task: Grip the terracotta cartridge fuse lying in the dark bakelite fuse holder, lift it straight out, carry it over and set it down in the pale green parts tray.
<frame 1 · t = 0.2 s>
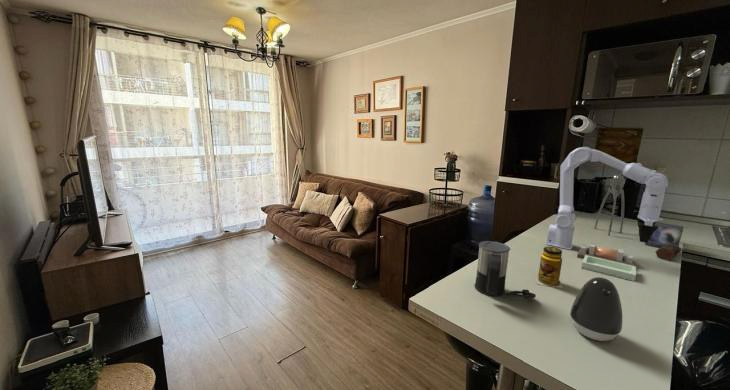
hand: (643, 239, 114), 10 cm above the worktop, tool pointing down, fingers open, 7 cm apart
dark grey egg dome: (592, 334, 75), on the worktop
fuse holder: (604, 259, 120), on the worktop
brown elongated lump: (669, 256, 124), on the worktop
milk frother: (502, 293, 93), on the worktop
parts tray: (607, 270, 110), on the worktop
fuse: (604, 259, 120), resting in fuse holder
juicer: (608, 233, 151), on the worktop
picture frame: (660, 247, 134), on the worktop
condiment: (547, 281, 101), on the worktop
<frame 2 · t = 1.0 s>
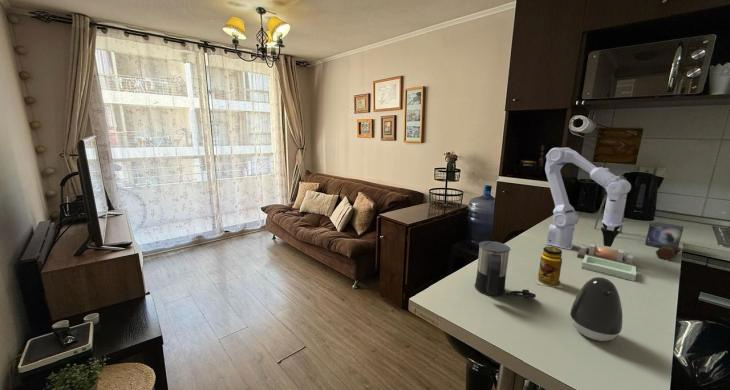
hand: (607, 243, 118), 7 cm above the worktop, tool pointing down, fingers open, 7 cm apart
nothing on the worktop moved.
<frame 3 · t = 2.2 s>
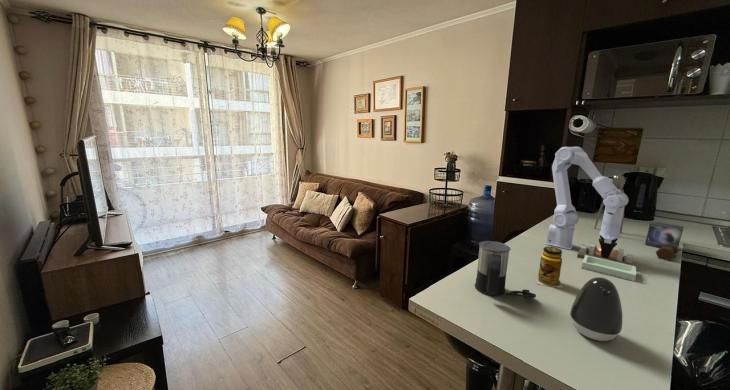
hand: (605, 255, 119), 2 cm above the worktop, tool pointing down, fingers closed on fuse, 4 cm apart
fuse: (604, 259, 120), resting in fuse holder, touching gripper
everything else where it was.
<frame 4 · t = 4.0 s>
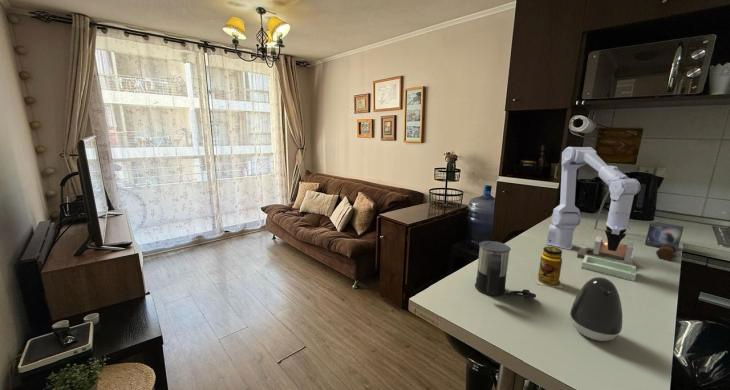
hand: (612, 248, 108), 9 cm above the worktop, tool pointing down, fingers closed on fuse, 4 cm apart
fuse: (611, 254, 109), point 6 cm above the worktop, tilted 7°, touching gripper
everything else where it was.
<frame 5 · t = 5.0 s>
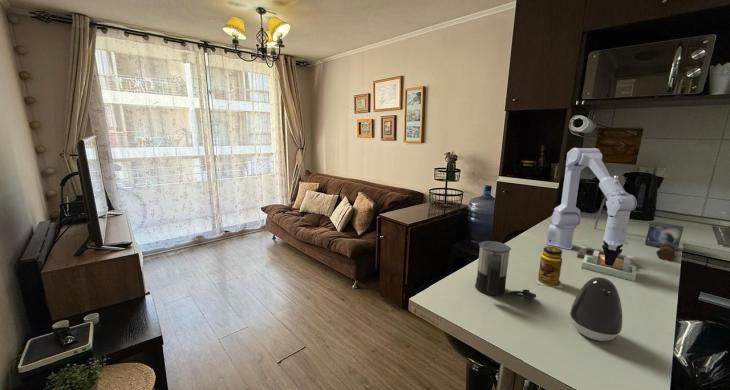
hand: (609, 262, 109), 3 cm above the worktop, tool pointing down, fingers closed on fuse, 4 cm apart
fuse: (608, 268, 110), point 1 cm above the worktop, tilted 6°, touching gripper
when the fingers open (3 cm above the worktop, at t = 5.9 s): fuse stays where it is, resting on parts tray.
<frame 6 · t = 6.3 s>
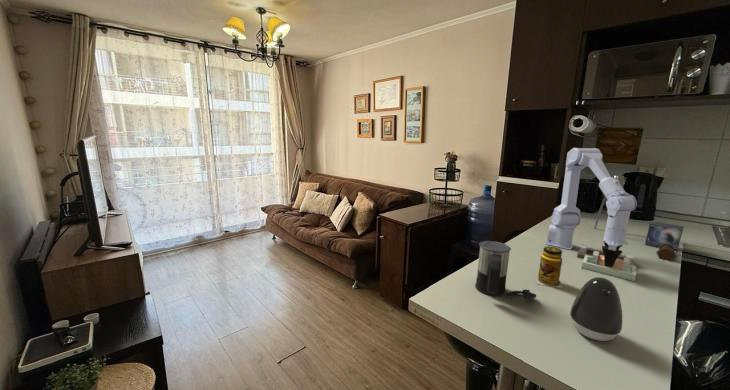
hand: (609, 263, 109), 3 cm above the worktop, tool pointing down, fingers open, 7 cm apart
fuse: (608, 269, 110), resting on parts tray
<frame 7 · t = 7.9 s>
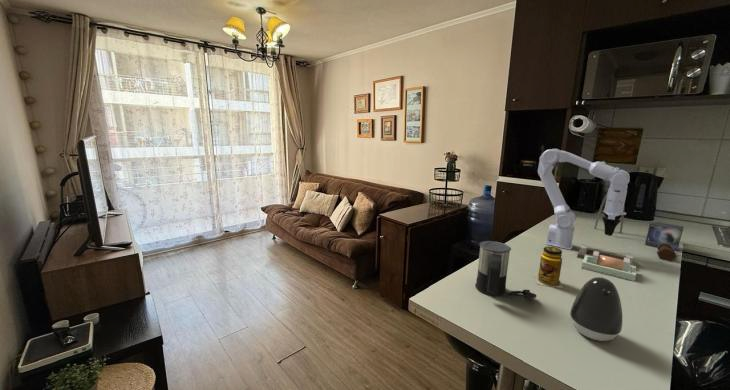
hand: (608, 232, 121), 10 cm above the worktop, tool pointing down, fingers open, 7 cm apart
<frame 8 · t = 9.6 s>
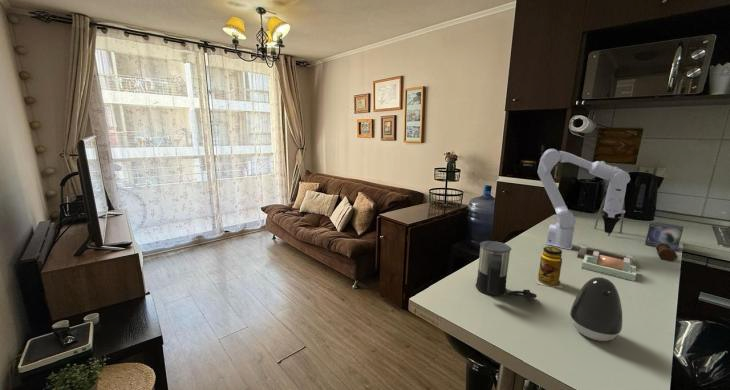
hand: (608, 230, 124), 10 cm above the worktop, tool pointing down, fingers open, 7 cm apart
at the end: fuse inside the target area on the parts tray (0.3 cm from its centre), point 0.4 cm above the parts tray's base; fuse moved 11.9 cm from its start; the gripper is holding nothing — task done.
